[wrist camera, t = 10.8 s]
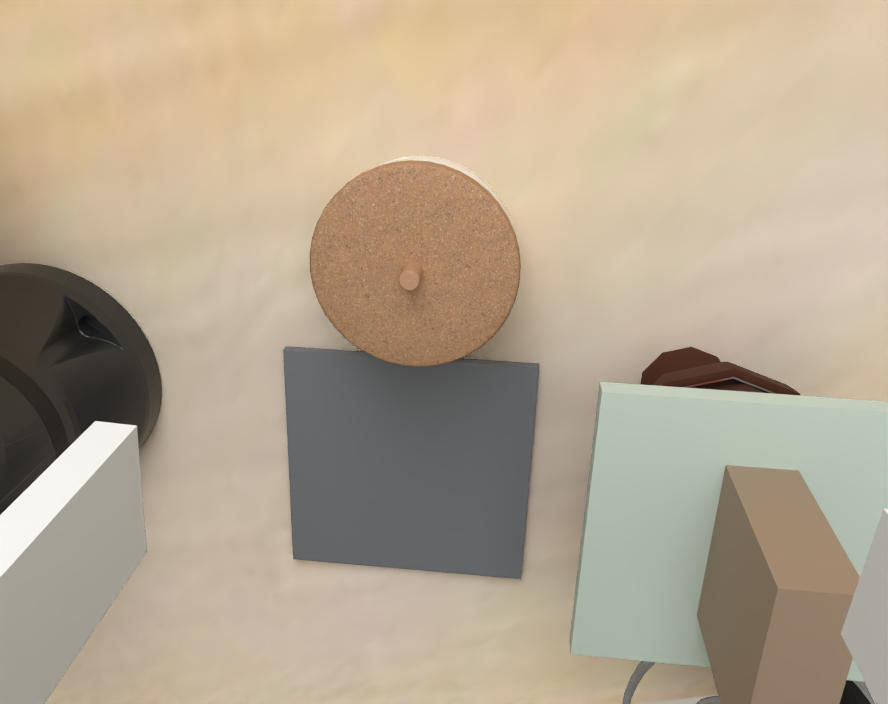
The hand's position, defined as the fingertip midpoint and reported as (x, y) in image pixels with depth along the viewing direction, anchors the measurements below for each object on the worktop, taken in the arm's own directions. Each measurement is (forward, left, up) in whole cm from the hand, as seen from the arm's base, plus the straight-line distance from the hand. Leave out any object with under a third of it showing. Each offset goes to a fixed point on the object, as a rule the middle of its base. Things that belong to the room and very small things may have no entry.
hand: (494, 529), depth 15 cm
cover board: (+11, -13, -20) cm, 26 cm away
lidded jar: (-5, -4, -35) cm, 36 cm away
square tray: (-6, -20, -35) cm, 41 cm away
